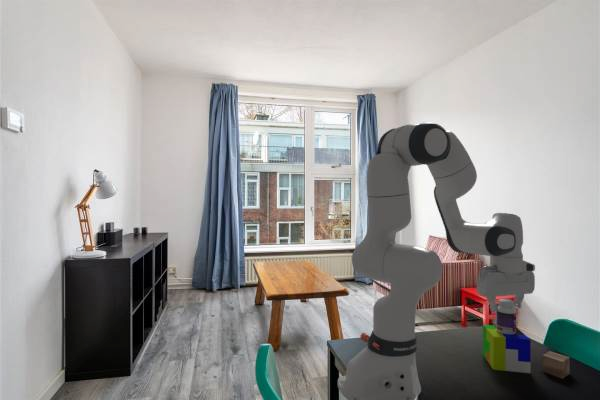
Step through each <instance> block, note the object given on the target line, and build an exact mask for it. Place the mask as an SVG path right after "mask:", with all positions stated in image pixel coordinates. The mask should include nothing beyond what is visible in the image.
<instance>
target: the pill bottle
mask: <svg viewBox="0 0 600 400" xmlns="http://www.w3.org/2000/svg"><path fill="white" fill-rule="evenodd" d="M514 302H515V301H513V300H511V299H506V298H499V299H498V310H497V311H495V326H496V330H497V331H498V332H500V333H503V334H509V335H512V334H515V333H516V327H517V310H516V308H514V307H513V306H514Z"/></svg>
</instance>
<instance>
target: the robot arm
mask: <svg viewBox="0 0 600 400" xmlns="http://www.w3.org/2000/svg"><path fill="white" fill-rule="evenodd" d="M376 149H377V150H376V153H375V155H374V156H373V157H371V158H370V160H369V161H368V164H367V172H366V195H367V205H368V207H367V209H368V226H367V230H366V234H365V236H364V238H363V239H362V241H361V242H360V243H359V244H357V245H356V247H355V248H354V249H353V251H352V255H351V264H352V268H353V269H354V271H355V273H357V274H359V275H360V276H362V277H365V278H367V279H369V280H372V281H376V282H377V281H378V282H383V283H386V284H390V289H389V294H386V295H384V296H382V297H380V298H378V299H377V300H376V302H374V305H373V307H372V310H373V311H372V312H373V313H372V315H373V316H372V319H373V320H372V323H373V325H372V326H373V327H372V331H371V334H370V335H368V334H367V333H365V332H362V333H361V334H360V340H362V341H363V342H364V343H367V345H366V346H365V347H364V348H363V349H361V351H360V352H358V353H357V354H356V355H355V356H354V357H353V358H351V359H350V360H349V361H348V363H347V366H346V371H345V375H343V376H342V375H341V376H340V377H338V379H337V388H338V390H339V392H340V394H342V396H343V397H344V398H345V399H347V400H419V399H418V398H419V395H420V394H421V392H422V386H421V384H420V379H419V376H418V367H417V361H416V360H417V358H416V351H417V335H416V314H417V308H418V304H419V302H420V300H421V298H422V297H423V295H425V293H427V292H428V291H429V290H431V289H433V288H434V287H435V286H437V284H438V283H439V282H440V280H441V278H442V275H443V264H442V263H443V262H442V260H441V258H440V256H439V255H438V253H437V252H436V251H433V250H431V249H428V248H425V247H422V246H418V245H410V244H401V243H396V237H397V236H396V235H397V233H398V232H400V231H402V230H403V229H405V228H407V227H408V226H409V225H410V223H411V220H412V209H411V194H410V185H409V184H410V183H409V173H410V170H411V167H414V166H415V167H416V166H422V165H426V166H427V168H428V170H429V172H430V174H431V177H432V178H433V180H434V181H433V182H434V184H435V186H434V189H433V196H434V201H435V204H436V206H437V210H438V212H439V216H440V218H441V221H442V224H443V226H444V230H445V237H446V242H447V244H448V246H449V247H450V248H451V250H452V251H453V252H456V253H460V254H472V255H480V256H487V257H489V265H484V266H483V267H482V268H481V269H479V273H478V276H477V282H476V293H477V294H478V295H479V296H481V297H484V298H486V300H487V302H488V303H489V310H490V311H492V312H496V311H497V310H498V306H499V304H497V303H496V300H497V297H506V296H515V299H514V301H513V302H514V306H513V308H514V309H515V310H516V309H521V308H522V302H523V301H524V298H525V295H528V294H529V295H530V294H531V295H532V294H533V293H534V291H535V285H536V284H535V283H536V281H535V280H536V279H535V278H536V276H535V273H534V272H535V270H536V265H535V264H534V263H531V262H530V261H529V262H528V261H526V260H524V254H523V252H522V251H523V250H522V247H523V245H524V229H523V223H522V219H521V217H520V216H519V215H516V214H513V213H508V212H496V213H493V215H492V218H491V219H490V220H489V221H487V222H485V223H479V222H478V223H476V222H469V221H466V220H464V219H463V218H462V214H461V211H460V209H459V205H458V202H457V199H460V198H461V197H463V196H464V195H466V194H467V193H468V192H470V191H472V189H473V187H474V186H475V184H476V182H477V179H478V174H477V170H476V167H475V165H474V163H473V161H472V159H471V157H470V154H469V153H468V151H467V149H466V148H465V146H464V145H463V143H462V141H461V140H460V139H459V138H458V137H457V135H456V134H455V133H454V132H453V131H450V130H446V129H445V128H444V127H443V126H441V125H440V124H437V123H435V122H428V121H427V122H421V123H416V124H405V125H402V126H399V127H397V128H392V129H389V130H387V131H386V132H385V133H383V134H382V136H381V137H380V139H379V140H378V143H377V148H376Z"/></svg>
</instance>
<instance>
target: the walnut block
mask: <svg viewBox="0 0 600 400" xmlns="http://www.w3.org/2000/svg"><path fill="white" fill-rule="evenodd" d="M570 363H571V362H570V357H569V356H566V355H564V354H560V353H557V352H553V351H551V350H550V351H547V352H546V353H544V354H542V372H543V373H546V374H548V375H550V376H554V377H557V378H559V379H562V380H563V379H564V378H566V377H568V376H569V375H570V371H571V369H570V367H571V366H570Z"/></svg>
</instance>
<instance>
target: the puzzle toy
mask: <svg viewBox="0 0 600 400" xmlns="http://www.w3.org/2000/svg"><path fill="white" fill-rule="evenodd" d="M531 341H532V339H531V338H529V337H528V336H527V335H526V334H525V333H524V332H522V330H520V329H519V328H518V327H517V326H516V333H515V334H512V335H509V334H503V333H500V332H498V331H497V330H496V325H491V324H490V325H489V324H483V325H482V355H483V357H484V360H486V362H487V363H488V364H489V366H490V367H491V368H492V370H495V371H505V372H513V373H514V372H515V373H524V374H531V351H532V350H531V349H532V347H531Z"/></svg>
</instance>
